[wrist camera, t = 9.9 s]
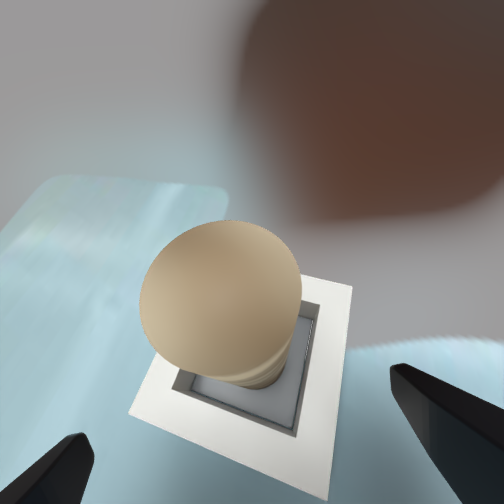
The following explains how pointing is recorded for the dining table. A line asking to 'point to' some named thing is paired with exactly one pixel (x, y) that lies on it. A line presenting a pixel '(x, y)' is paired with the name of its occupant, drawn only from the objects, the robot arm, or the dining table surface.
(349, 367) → the dining table surface
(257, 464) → the well block
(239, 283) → the peg
